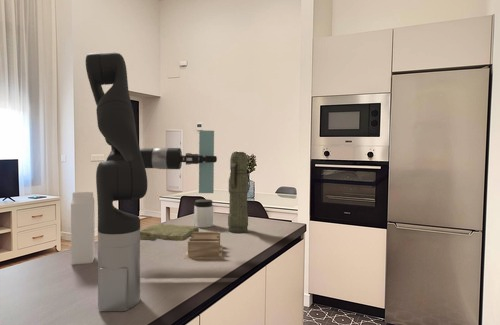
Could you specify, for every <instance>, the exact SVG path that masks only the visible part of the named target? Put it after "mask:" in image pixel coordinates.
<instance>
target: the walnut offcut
mask: <svg viewBox="0 0 500 325" xmlns="http://www.w3.org/2000/svg"><path fill="white" fill-rule="evenodd" d="M193 238H217V236H193Z"/></svg>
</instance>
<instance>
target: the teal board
mask: <svg viewBox="0 0 500 325" xmlns="http://www.w3.org/2000/svg"><path fill="white" fill-rule="evenodd" d="M198 134H199V135H198V136H199V138H198V140H199V141H198V146H199V147H198V148H199V149H198V154H199V156H201V155H202V156H203V155H204V156H205V157H206V156H215V130H199V132H198ZM214 168H215V162H206V161H205V163H199V164H198V194H214V191H215V190H214V186H215V183H214V181H215V180H214V179H215V177H214V176H215V174H214V173H215V172H214V171H215V169H214Z"/></svg>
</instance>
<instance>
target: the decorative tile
mask: <svg viewBox="0 0 500 325" xmlns="http://www.w3.org/2000/svg"><path fill="white" fill-rule="evenodd" d="M192 232H200V231H199V228H198V227H196V226H194V225H184V224H183V225H180V224H179V225H178V224H165V223H157V224H152V225H150V226H148V227H146V228H142V230H140V240H151V241H156V240H157V239H161V240H173V241H184V240H185V239H187V238H188V237H191V235H192Z"/></svg>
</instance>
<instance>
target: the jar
mask: <svg viewBox="0 0 500 325" xmlns="http://www.w3.org/2000/svg"><path fill="white" fill-rule="evenodd" d="M193 207H194V208H193V226H196V227H198V228H200V229H201V228H203V229H205V228H211V227H213V226H214V206H213V200H212V199H209V198H208V199H207V198H206V199H205V198H204V199H203V198H202V199H196V200H194V206H193Z"/></svg>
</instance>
